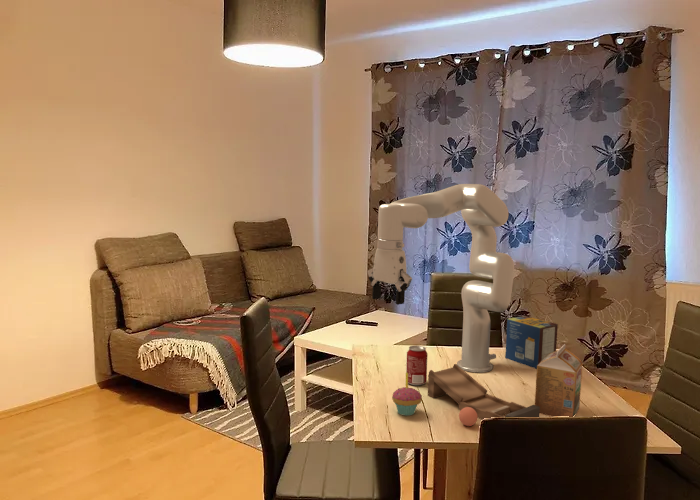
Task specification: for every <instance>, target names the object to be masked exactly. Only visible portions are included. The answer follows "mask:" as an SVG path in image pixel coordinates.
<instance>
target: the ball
mask: <svg viewBox="0 0 700 500" xmlns="http://www.w3.org/2000/svg"><path fill="white" fill-rule="evenodd" d="M458 419H459V421H460V423H461V424H462V425H463V426H467V427H471V426H473V425H475V424H476V423H477V421H478V419H479V418H478V416H477V413H476V411H475V410H474V409H473V408H471V407H465V408H463V409H462V410H459V413H458Z"/></svg>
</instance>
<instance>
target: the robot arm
mask: <svg viewBox="0 0 700 500" xmlns="http://www.w3.org/2000/svg"><path fill="white" fill-rule="evenodd" d="M460 211H461V212H460ZM457 212H460V213H461V216H462V218H463V219H462V220H464V222H465V224H467V226H468V228H469V230H470V232H471V237H472V238H471V247H470V248H471V249H470V255H469V263H468V264H469V267H468V268H469V272H470V273H471V274H472V275H473V276H475V277H480V278H484V279H490V280H492V282H489V281H484V280H478V279H477V280H475V279H474V280H469V281H467V282H465V284H463V286H462V288H461V294H460V295H461V302H462V307H463V308H462V310H463V311H462V312H463V314H462V315H463V318H462V319H463V320H462V337H461V338H462V339H461V359H459V360H458V361H457V362H456V364H457V365H458V366H459V367H460V368H461V369H463V370H464V371H465V372H470V373H471V372H472V373H487V372H490V371H492V370H493V366H494V365H493V364H492V363H491V362H490V361H491V360H494V359H497V355H496V353H490V338H491V337H490V336H491V316H490V313H489V311H491V312H496V313H503V312H504V311H506V310H507V309H508V308H509V305H510V303H511V299H512V291H513V285H514V276H515V263H514V260H513V258H512V256H511V255H509V254H508V253H505V252H498V251H497V242H498V241H497V238H498V237H497V234H496V230H495V227H502V226H503V225H505V224H506V223H507V221H508V220H509V209H508V207H507V204H506V203H505V202H504V201H503V200H502V199H501V198H500V197H499V196H498V195H497V194H496V193H495V192H494V191H493V190H491V189H490V188H489V187H488V186H486V185H484V184H481V183H460V184H455V185H452V186H449V187H446V188H443V189H440V190H437V191H434V192H429V193H423V194H419V195H414V196H409V197H406V198H402V199H398V200H395V201H393V202H391V203H383V204H381V205H380V206H379V208H378V220H377V221H378V222H377V244H376V245H377V248H376V249H375V254H374V259H373V260H374V261H373V267H372V268H370V269H368V270H367V272H366V273H367V275H368V280H369V281H370V285H371V286H372V292H371V293H372V295H371V296H372V299H373V300H378V299H381V298H382V285H381V284H382V283H385V284H391V285H395V288H396V291H395V305H397V306H398V305H404V304H405V294H406V293H405V291H407V290H408V288H409V287H410V286H411V284H412V281H413V278H412V276H410V275H409V274H408V273H407V259H406V258H407V257H406V252H405V250H403V248H404V247H405V243H404V241H403V239H404V237H403V236H404V233H403V232H404V228H407V229H419V228H421V227H423V226H424V225H425V224H426V223H427V221H428V219H439V218H440V219H441V218H445V217H448V216H450V215H452V214H455V213H457Z"/></svg>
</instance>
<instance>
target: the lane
mask: <svg viewBox="0 0 700 500" xmlns="http://www.w3.org/2000/svg"><path fill="white" fill-rule="evenodd" d="M452 366H453V367H449V368H446V369H442V370H438V371H434V370H432V369H430V370H429V372H428V375H427V377H428V380H427V382H428V383H427V397H430V398H431V399H434V398H438V397H441V396H445V395H447V396H449V397H450V398H451V399H452V400H454V401H455V402H456V403H457V404H458V410H459V411H461V410H462V409H463V408H465V407H471V408H473V409H474V410H475V411H476V413H477V416H478V418H477V419H480V420H482V419H484V418H491V417H504V416H503V415H505V418H506V417H539V418H540V407H539V406H536V405H535V404H532V405H529V406H527V407H526V406H525V405H521V404H519V403H516V402H514V401H510V402H509V401H507V400H504V399H502V398H500V397H497V396H494V395H492V394H489V393H488V390H487V389H486V388H485V387H484V386H482V384H480V383H479V382H478V381H477V380H476V379H474V377H472V376H471V375H470V374H469V373H467V371H465V370H463V369H461V368H460V367H459V366H458V365H457V363H455V364H453V365H452Z"/></svg>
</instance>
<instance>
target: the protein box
mask: <svg viewBox="0 0 700 500" xmlns="http://www.w3.org/2000/svg"><path fill="white" fill-rule="evenodd" d="M506 320H507V322H506V336H505V338H506V339H505V341H506V342H505V353H504V354H505V355H504V358H505V359H507V360H510V361H512V362H515V363H518V364H521V365H523V366H527V367H530V368H533V369H534V370H535V369H536V370H537V365H538V364H539V363H540V362H541V361H542V360H543V359H544V358H545V357H546V356H547V355H549V354H550V353H552V352H555V351H557V344H558V343H557V342H558V341H557V340H558V328H559V327H558V325H559V324H558V323H555V322H551V321H546V320H543V319H539V318H534V317H531V316H528V315H521V316H517V317H516V316H515V317H510V318H507V319H506Z"/></svg>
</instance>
